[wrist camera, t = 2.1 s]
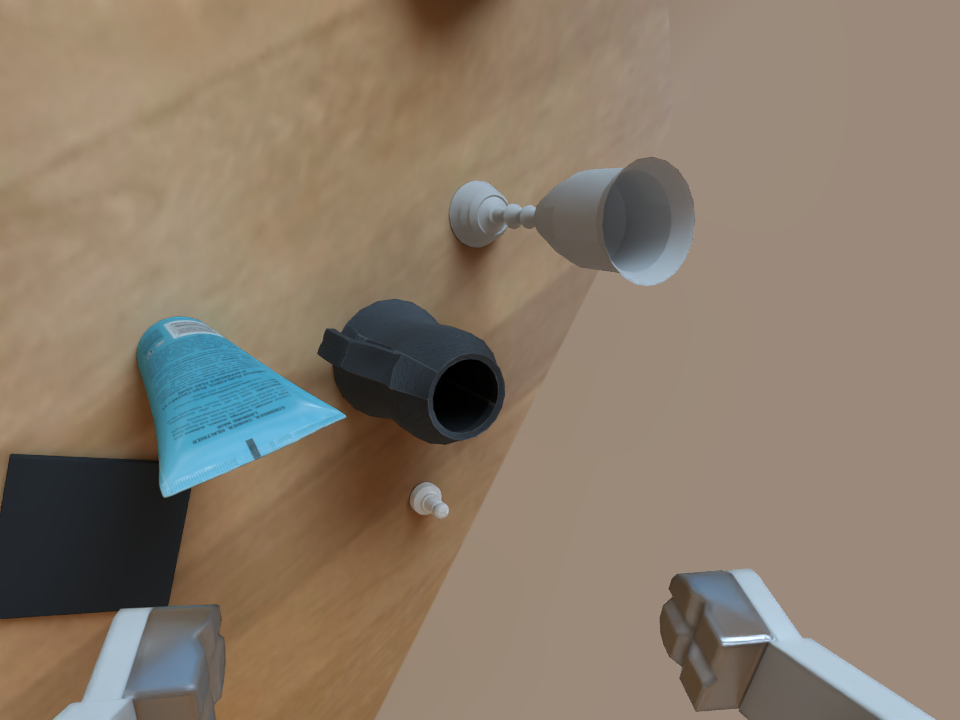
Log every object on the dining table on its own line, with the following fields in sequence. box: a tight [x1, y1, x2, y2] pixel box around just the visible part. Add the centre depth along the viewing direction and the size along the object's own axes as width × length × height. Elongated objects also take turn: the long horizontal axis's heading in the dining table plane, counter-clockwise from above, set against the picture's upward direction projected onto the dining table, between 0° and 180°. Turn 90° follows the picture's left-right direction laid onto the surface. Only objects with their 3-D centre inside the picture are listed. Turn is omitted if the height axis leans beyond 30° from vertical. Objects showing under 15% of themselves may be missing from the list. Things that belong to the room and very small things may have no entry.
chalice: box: [449, 157, 695, 286], centre depth 44 cm, size 7×7×18 cm
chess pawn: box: [410, 482, 449, 519], centre depth 52 cm, size 3×3×4 cm
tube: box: [137, 317, 347, 498], centre depth 34 cm, size 7×5×19 cm, turn 109°
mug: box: [317, 299, 505, 445], centre depth 44 cm, size 12×9×11 cm
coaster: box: [0, 454, 191, 619], centre depth 41 cm, size 10×10×1 cm
